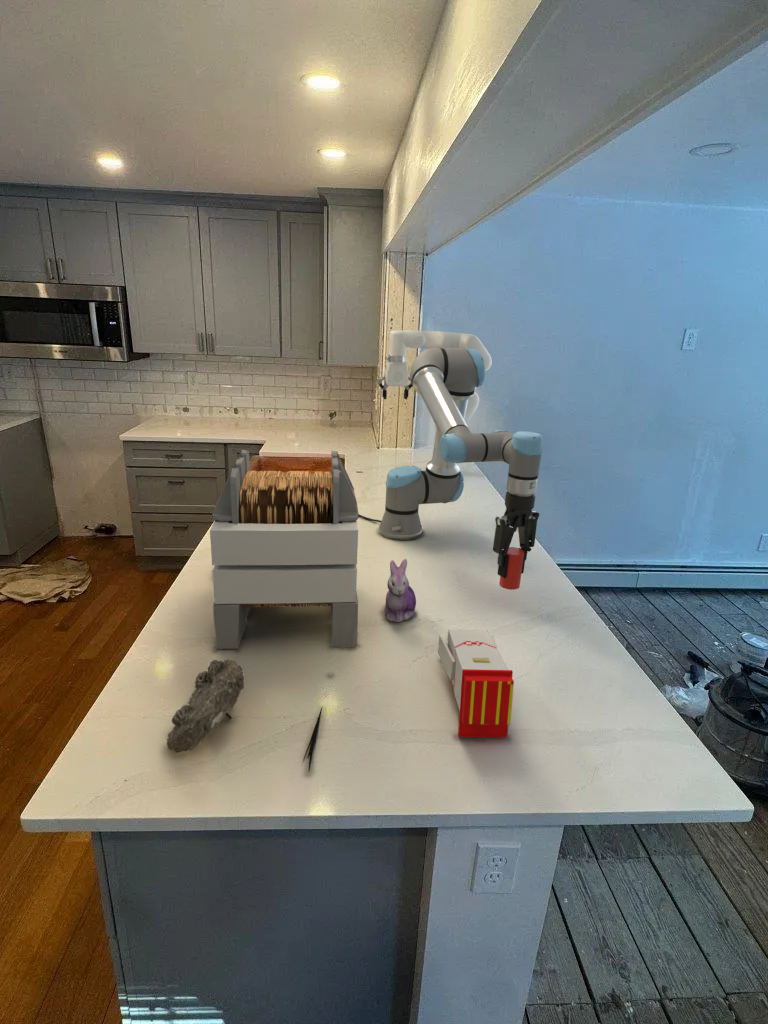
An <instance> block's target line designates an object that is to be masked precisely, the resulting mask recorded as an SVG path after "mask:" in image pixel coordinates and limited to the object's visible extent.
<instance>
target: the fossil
mask: <svg viewBox="0 0 768 1024" xmlns="http://www.w3.org/2000/svg"><path fill="white" fill-rule="evenodd" d="M243 670H244V669H243V667H242V665H240V664H237V662H236V661H235V660H234V659H232V658H231V659H227V658H226V659H224V660H223V661H222V660H217V659H212V660H211V661H210V663H209V665H208V666H207V671H201V672H199V673H198V674H197V675H196V676H195V680H194V684H195V685H194V687H195V689H194V690H193V693H192V694H191V697H190V698H189V700H188V704H184V705H182V706H181V707H180V709H177V710H176V711H175V713H174V715H173V716H172V718H171V723H172V724H173V727H172V730H171V731H170V732H168V734H167V738H166V741H167V742H166V745H167V749H168V750H169V751H173V752H174V753H176V754H178V753H182V752H188V751H189V752H192V751H193V750H195V748H196V747H197V746H199V744H200V743H201V742H203V741H204V740H205V739H206V738H207V737H208V736H209V735H210V734H211V733H212V732H214V730H215V729H217V727H218V726H219V724H220V722H221V721H222V720H223V719H224V718H225V716H226V717H227V719H229V720H233V717H232V715H230V714H229V710H230V709H231V708H234V706H235V704H236V703H237V702H238V699H239V697H240V695H241V693H242V691H243V690H245V689H244V688H245V675H244V671H243Z"/></svg>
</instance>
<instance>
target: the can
mask: <svg viewBox="0 0 768 1024" xmlns="http://www.w3.org/2000/svg"><path fill="white" fill-rule="evenodd" d="M519 548H520V547H516V546H515V547H514V546H509V549H508V552H507V555H509V560H508V568H507V576H506V578H503V577H501V576H500V575H499V586H500V587H501V588H503V589H505V590H511V591H513V590H518V589H519V588H520V587H521V581H522V574H523V573H522V565H523V558H524V551H523V550H522V549H519ZM521 573H522V574H521Z"/></svg>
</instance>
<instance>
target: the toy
mask: <svg viewBox="0 0 768 1024" xmlns="http://www.w3.org/2000/svg"><path fill="white" fill-rule="evenodd" d="M446 640H447V643H446V641H445V639H444V636H443V635H442V634H439V637H438V646H437V656H438V657H439V659H440V661H441V663H442V666H443V668H444V670H445V672H446V674H447V677H448V679H449V681H450V684H451V687H452V690H453V693H454V697H455V701H456V705H457V708H458V711H459V714H458V715H459V716H458V730H457V731H458V732H457V737H458V738H508V731H509V726H510V725H511V717H512V707H513V697H514V696H513V695H514V684H515V680H514V679H513V673H514V671H513V670H512V669H508V667H507V665H506V662H505V661H504V659H503V658H502V655H501V653H500V651H499V649H498V647H497V643H496V639H495V637H494V635H493V634H491V632H490V631H489V629H467V628H466V629H465V628H463V629H461V628H460V629H459V628H448V630H447V639H446Z"/></svg>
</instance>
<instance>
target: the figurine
mask: <svg viewBox="0 0 768 1024" xmlns="http://www.w3.org/2000/svg"><path fill="white" fill-rule="evenodd" d="M407 567H408V559H406V558H404V559H403V560H402V561H401V563H400V565H399V566H398V565H397V563H396V562H395V561H394V560H393V559H391V560H390V561H389V570H390V576H389V578H388V579H387V589H388V591H387V592H386V594H385V595H386V596H385V607H384V615H385V616H386V620H387V621H391V622H395V623H400V622H402V621H406V620H409V619H410V618H411V617H413V616H414V615H415V610H416V606H417V597H416V593H415V591H414V590H413V587H411V586H410V582H409V579H408V577H407V574H406V571H407Z"/></svg>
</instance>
